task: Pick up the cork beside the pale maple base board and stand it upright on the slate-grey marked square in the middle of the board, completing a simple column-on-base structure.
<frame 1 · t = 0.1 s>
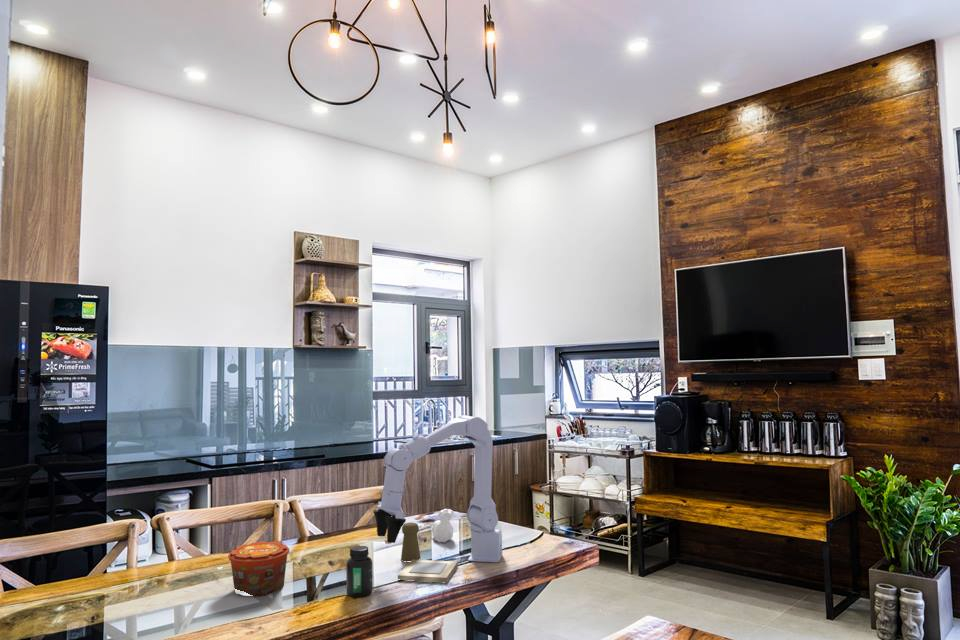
hand: (386, 539, 189), 11 cm above the table, tool pointing down, fingers open, 7 cm apart
food container: (259, 589, 181), on the table
bust: (443, 540, 225), on the table
cork: (410, 559, 204), on the table
supplement bottle: (359, 594, 176), on the table
base board: (428, 573, 191), on the table
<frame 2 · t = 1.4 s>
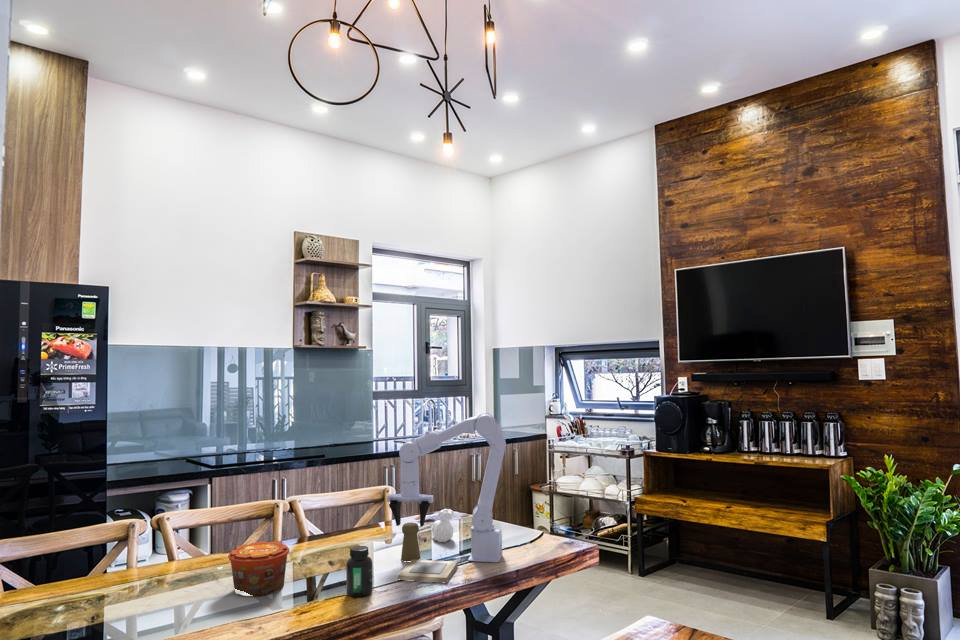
hand: (410, 525, 205), 10 cm above the table, tool pointing down, fingers open, 7 cm apart
nothing on the table moved.
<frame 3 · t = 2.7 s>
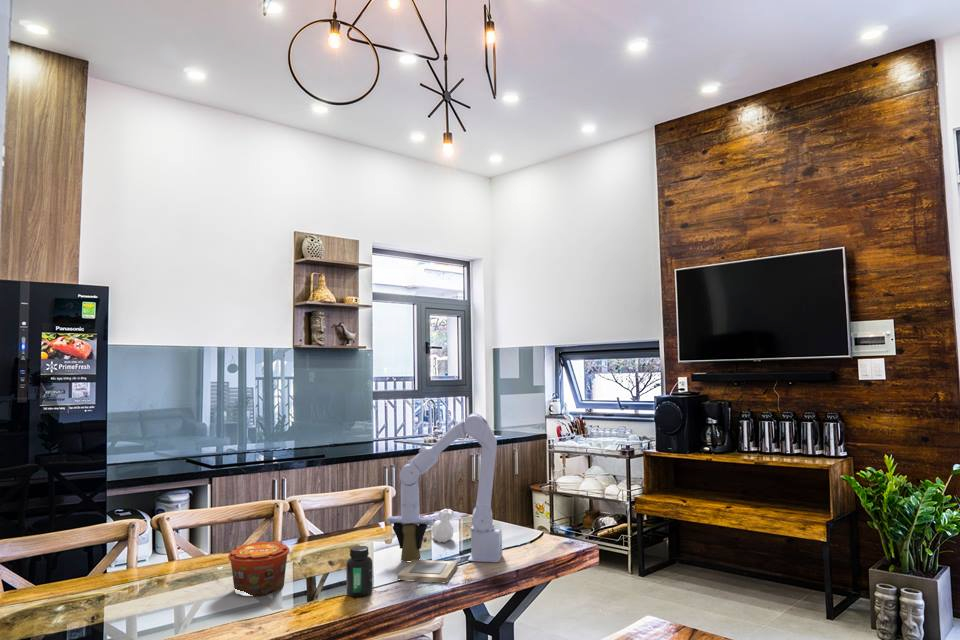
hand: (410, 548, 204), 3 cm above the table, tool pointing down, fingers closed on cork, 5 cm apart
cork: (410, 559, 204), on the table, touching gripper
everything else where it was.
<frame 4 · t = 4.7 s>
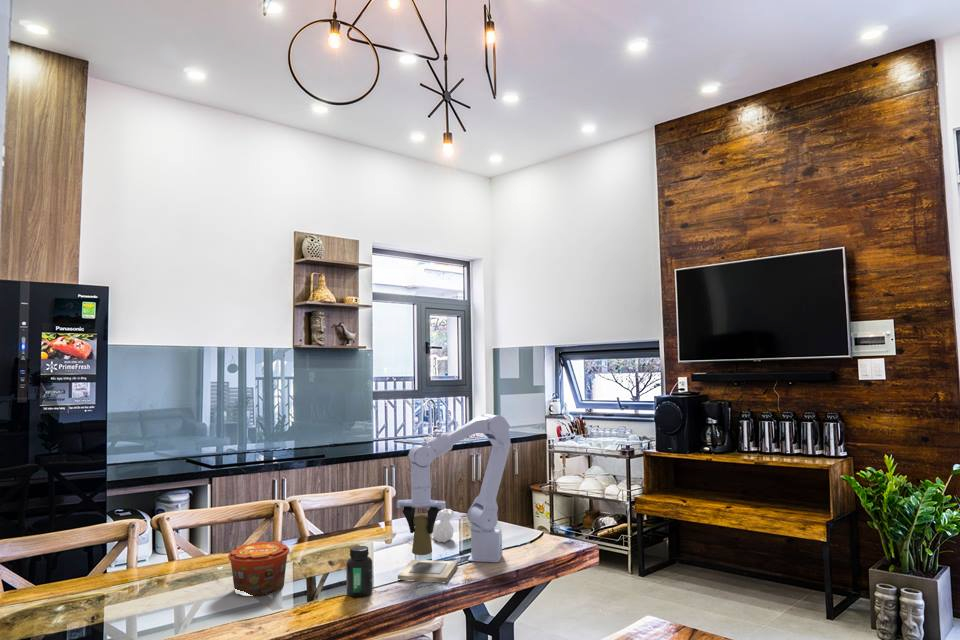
hand: (421, 532, 196), 10 cm above the table, tool pointing down, fingers closed on cork, 5 cm apart
cork: (422, 552, 197), point 4 cm above the table, touching gripper
everything else where it was.
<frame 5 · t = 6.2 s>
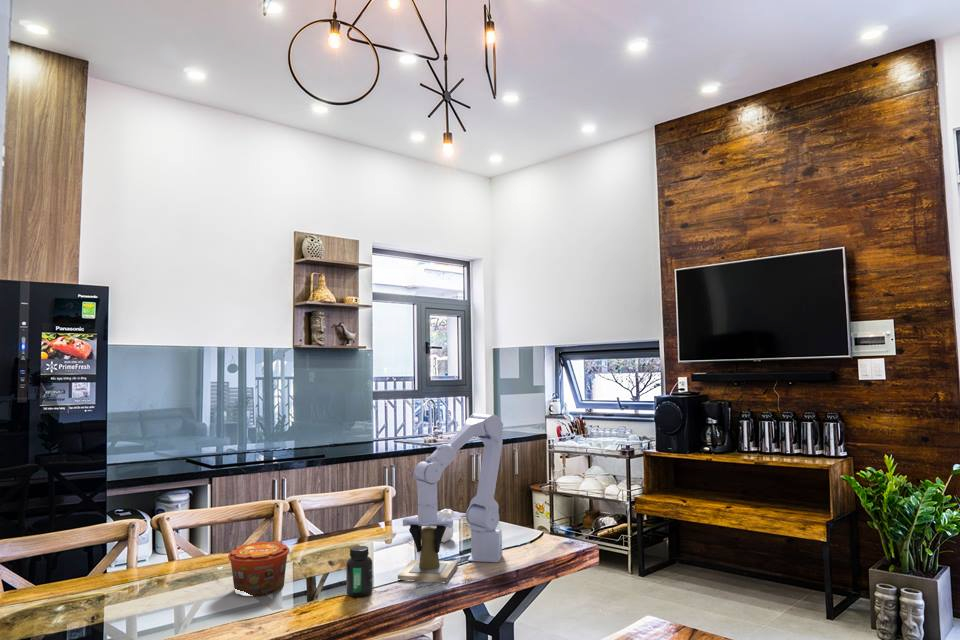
hand: (428, 551, 191), 6 cm above the table, tool pointing down, fingers closed on cork, 5 cm apart
cork: (429, 567, 192), point 2 cm above the table, touching base board, gripper
everything else where it was.
when the fingers open (6 cm above the table, at t = 6.6 s): cork stays where it is, resting on base board.
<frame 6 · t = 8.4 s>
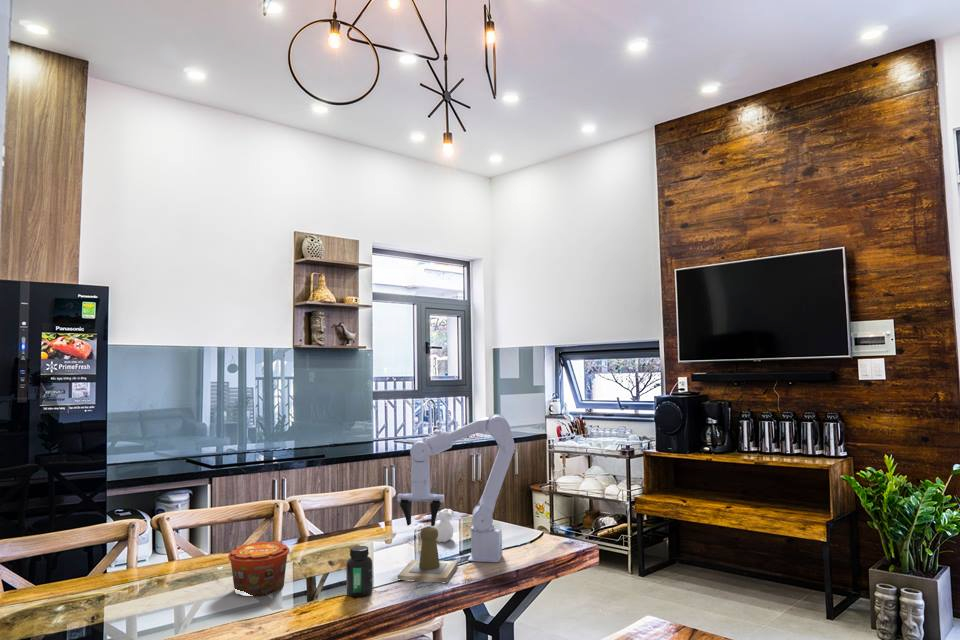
hand: (421, 524, 205), 10 cm above the table, tool pointing down, fingers open, 7 cm apart
cork: (429, 567, 192), point 2 cm above the table, touching base board
everything else where it was.
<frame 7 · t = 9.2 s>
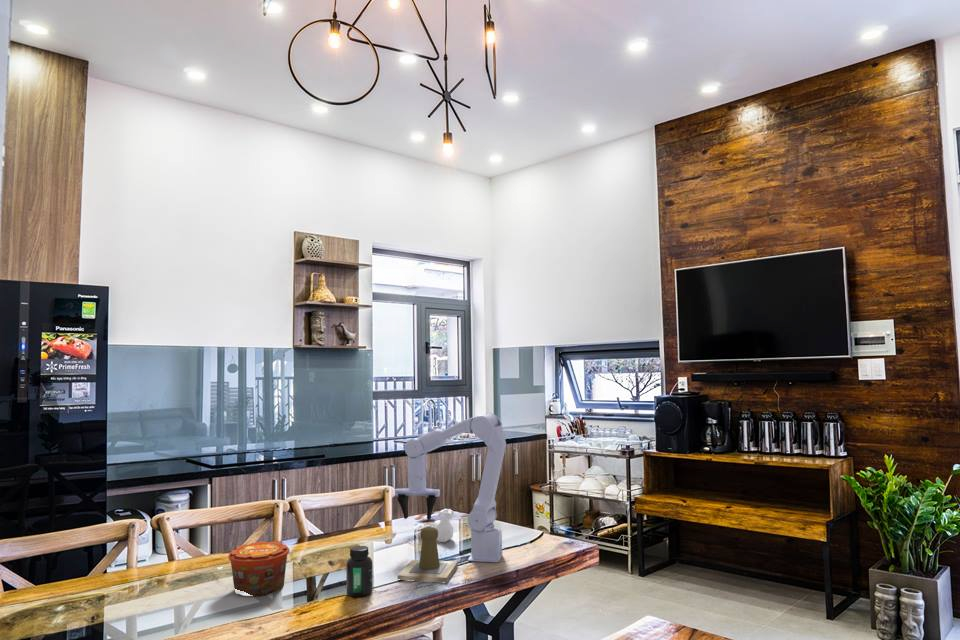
hand: (417, 518, 213), 10 cm above the table, tool pointing down, fingers open, 7 cm apart
nothing on the table moved.
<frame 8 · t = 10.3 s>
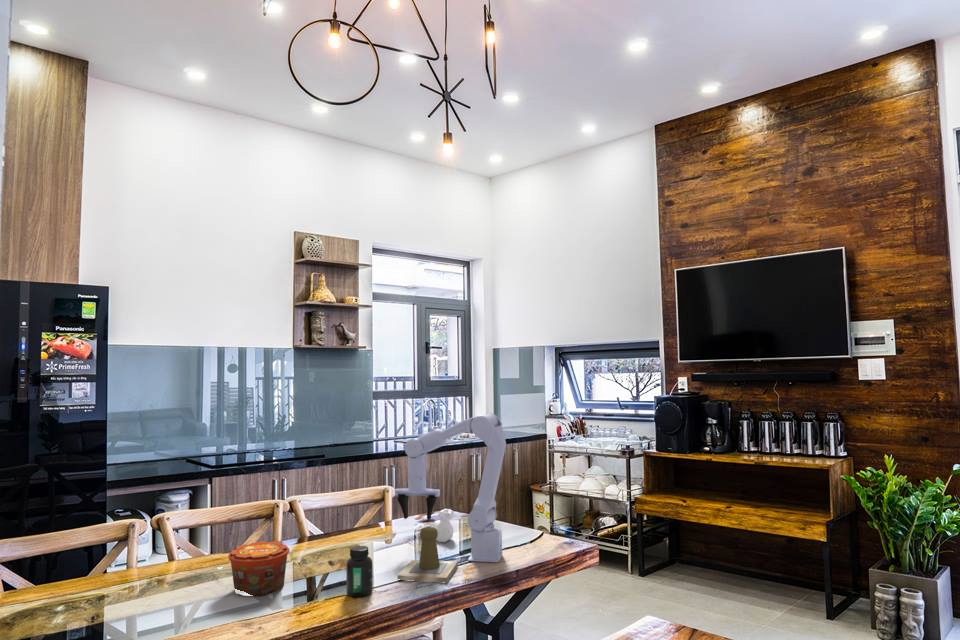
hand: (417, 518, 213), 10 cm above the table, tool pointing down, fingers open, 7 cm apart
nothing on the table moved.
at the end: cork 1.0 cm off-centre on the base board, point 1.5 cm above the base board's base; cork tilted 0°; the gripper is holding nothing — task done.
